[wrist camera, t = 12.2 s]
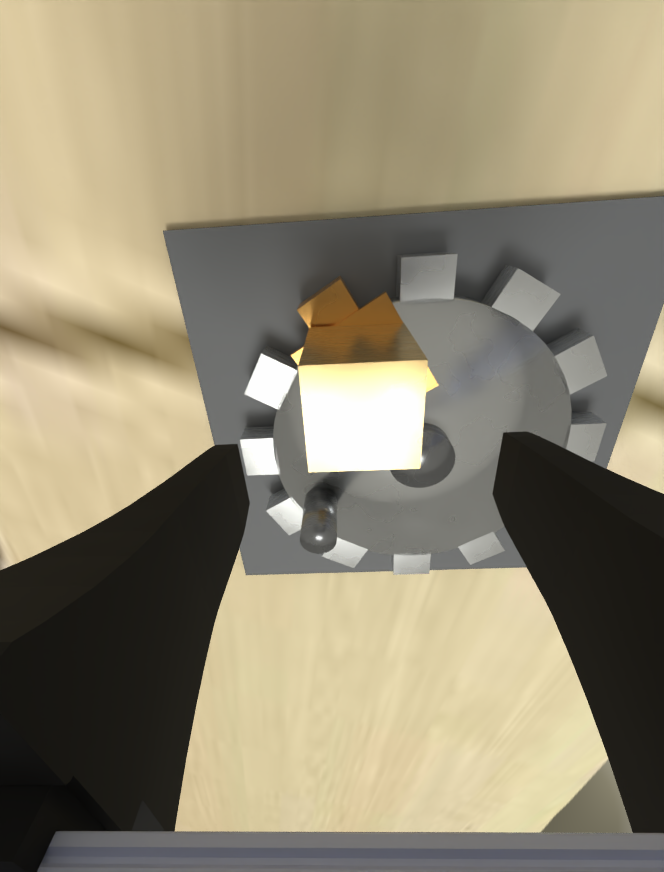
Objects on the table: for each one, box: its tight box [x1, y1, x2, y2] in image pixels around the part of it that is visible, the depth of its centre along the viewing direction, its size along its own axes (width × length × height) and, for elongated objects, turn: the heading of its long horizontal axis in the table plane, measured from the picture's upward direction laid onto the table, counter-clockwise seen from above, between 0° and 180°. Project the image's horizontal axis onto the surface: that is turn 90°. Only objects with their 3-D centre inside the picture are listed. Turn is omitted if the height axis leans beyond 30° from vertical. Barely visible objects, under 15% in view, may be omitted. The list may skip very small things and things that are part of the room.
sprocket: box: [240, 252, 607, 575], centre depth 19 cm, size 18×18×4 cm
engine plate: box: [163, 196, 664, 575], centre depth 21 cm, size 22×21×1 cm
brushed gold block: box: [298, 323, 428, 472], centre depth 15 cm, size 4×4×5 cm
